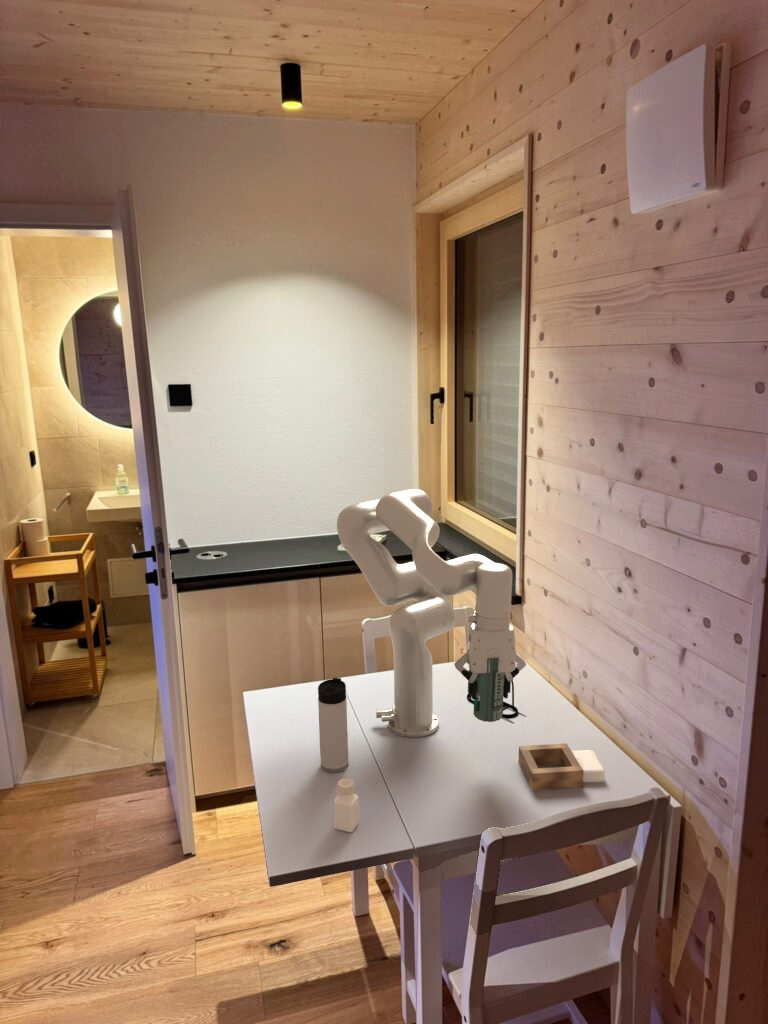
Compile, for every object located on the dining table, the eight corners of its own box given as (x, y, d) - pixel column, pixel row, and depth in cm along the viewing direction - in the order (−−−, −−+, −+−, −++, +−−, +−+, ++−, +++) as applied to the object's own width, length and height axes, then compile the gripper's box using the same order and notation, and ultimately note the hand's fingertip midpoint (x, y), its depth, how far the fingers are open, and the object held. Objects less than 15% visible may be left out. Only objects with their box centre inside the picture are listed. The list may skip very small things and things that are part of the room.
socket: (532, 790, 154) (532, 773, 153) (518, 762, 165) (518, 746, 164) (582, 787, 155) (583, 770, 154) (565, 759, 166) (566, 743, 165)
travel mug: (353, 760, 167) (350, 679, 163) (342, 775, 161) (339, 692, 157) (328, 755, 169) (325, 675, 165) (316, 770, 163) (312, 688, 159)
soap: (605, 783, 157) (605, 770, 156) (579, 784, 157) (580, 771, 156) (592, 760, 166) (593, 748, 165) (568, 761, 166) (569, 749, 165)
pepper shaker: (333, 830, 143) (332, 786, 141) (342, 818, 146) (340, 775, 144) (352, 834, 141) (351, 790, 139) (360, 822, 145) (359, 779, 143)
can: (482, 705, 166) (484, 644, 163) (506, 713, 163) (509, 651, 159) (469, 716, 161) (471, 653, 158) (493, 724, 158) (497, 661, 154)
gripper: (455, 628, 152) (453, 705, 157) (536, 626, 154) (531, 703, 158) (449, 614, 160) (447, 689, 164) (526, 612, 161) (522, 686, 165)
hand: (488, 695), depth 161 cm, fingers closed on can, 6 cm apart
